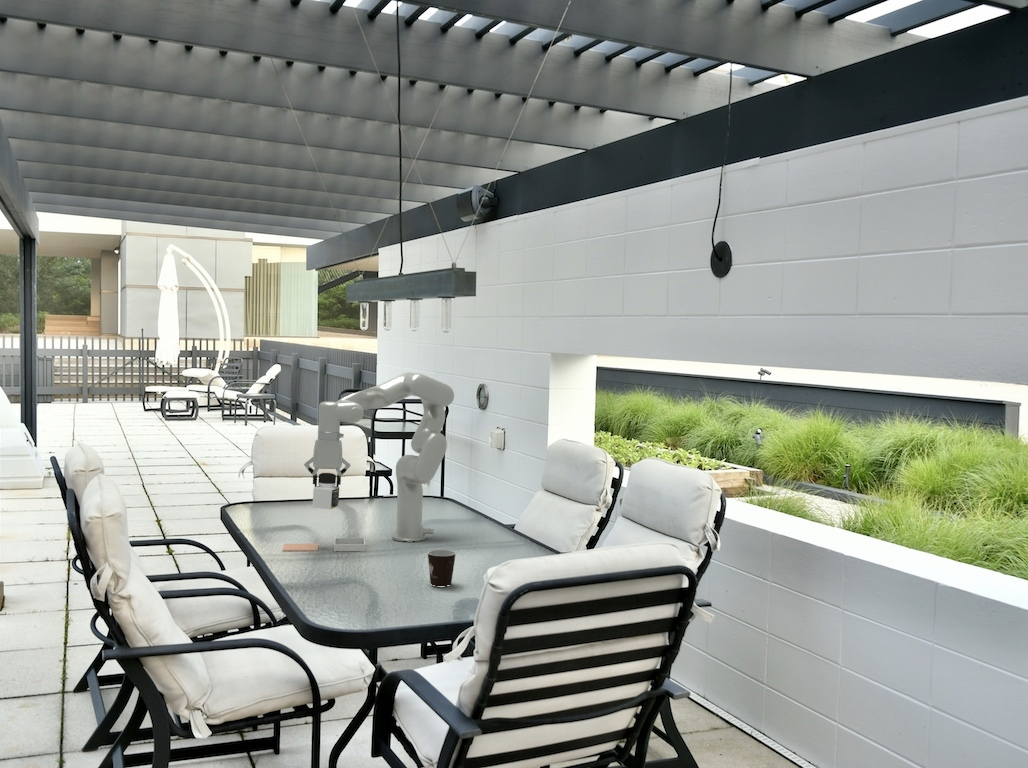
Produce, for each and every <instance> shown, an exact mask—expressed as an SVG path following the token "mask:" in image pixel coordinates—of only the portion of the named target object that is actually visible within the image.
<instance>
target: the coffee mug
mask: <svg viewBox="0 0 1028 768" xmlns="http://www.w3.org/2000/svg"><path fill="white" fill-rule="evenodd" d="M456 554H457V552H456V551H454V550H452V549H451V550H450V549H431V550H429V551H428V552H427V559H428V570H429V581H430V582H429V583H431V584H432V585H435V586H447V585H451V586H452V582H453V574H454V567H455V561H456V560H455V559H456ZM431 584H430V585H431Z"/></svg>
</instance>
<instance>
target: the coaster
mask: <svg viewBox="0 0 1028 768" xmlns="http://www.w3.org/2000/svg"><path fill="white" fill-rule="evenodd" d="M318 545H319V543H284V545H283V548H282V549H281V550H282V551H319V546H320V545H319V546H318Z"/></svg>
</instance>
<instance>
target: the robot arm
mask: <svg viewBox="0 0 1028 768" xmlns="http://www.w3.org/2000/svg"><path fill="white" fill-rule="evenodd" d="M411 396H414V397H418V398H420V401H421V403H422V407H423V415H422V417H421V420H420V421H419V424H418V426H417V428H416V430H415V432H414V434H413V436H412V437H411V441H410V442H411V443H410V447H411V449H412V450H413V452H415V453H417V454H418V455H413V454H404V455H403V456H401V457H400V458H399V459H398V460H397V462H396V465H395V476H396V484H397V485H396V486H397V490H396V491H397V492H396V493H397V495H396V496H397V498H396V531H395V533H393V534H392V535H391V538H392V540H394V541H398V542H403V541H407V543H410V542H411V543H413V541H415V542H422V541H424V540H426V537H427V536H426V535H434V534H435V529H434V528H431V527H430V528H425V527H423V502H424V501H423V499H424V498H423V497H424V493H423V492H424V489H423V485H424V484H427V483H430V481H432V480H433V479H434V477H435V475H436V473H437V472H438V469H439V467H440V465H441V463H442V461H443V459H444V456H445V454H446V451H447V447H448V442H447V438H446V436H445V435H444V434H443V433H441V432H442V430H443V427H444V424H445V420H446V411H445V407H448V406H450V405H451V404H452V403H453V402H454V400H455V393H454V390H453V388H452V387H451V386H450V385H449V384H446V383H445V382H444V383H443V382H441V381H438V380H436V379H434V378H433V377H430V376H427V375H425V374H422V373H418V372H405V373H402V374H400V375H397V376H395V377H393V378H391V379H389V380H387V381H385V382H384V381H383V383H382V382H381V383H380V384H377V385H375V386H372V387H368V388H366V389H363V390H359V391H357V392H354V393H351V394H349V395H346V396H344V397H342V398H341V399H338V400H336V401H322V402H320V403H319V405H318V423H317V424H318V426H317V427H318V428H317V439H315V441H314V445H313V447H314V448H313V455H312V457H311V458H310V459H308V460H307V461H306V462H305V463H304V467H305V468H306V470H308V472H309V473H310V474H311V476H312V485H314V487H317V486H318V474H317V473H318V471H319V470H320V469H321V470H324V469H325V470H327V469H328V470H329V469H330V470H335V471H336V473H337V475H336V485H335V486H336V487H340V485H341V481H342V476H343V474H345V473H346V472H347V471H348V470H349V468H350V467H351V464H350V463H349V462H348V461H347V460H346V459H345V458H344V457H343V443H342V440H340V439H341V438H344V433H341V432H340V429H341V423H348V424H349V423H350V424H354V423H358V422H360V421H361V420H362V419H363V418H364V415H365V411H368V410H375V409H382V408H388V407H389V406H392V405H394V404H395V403H398V402H400V401H403V400H404V399H405V398H409V397H411ZM310 464H312V466H313V468H314V469H313V468H312V466H311V465H310ZM343 465H345V466H344V467H343V468H342V466H343ZM421 540H422V541H421Z"/></svg>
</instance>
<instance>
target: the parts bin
mask: <svg viewBox="0 0 1028 768" xmlns="http://www.w3.org/2000/svg"><path fill="white" fill-rule="evenodd" d="M333 539H334V540H333V551H365V552H366V537H334V538H333Z"/></svg>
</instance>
